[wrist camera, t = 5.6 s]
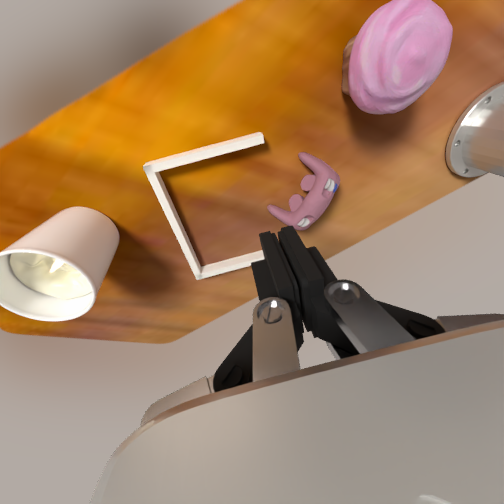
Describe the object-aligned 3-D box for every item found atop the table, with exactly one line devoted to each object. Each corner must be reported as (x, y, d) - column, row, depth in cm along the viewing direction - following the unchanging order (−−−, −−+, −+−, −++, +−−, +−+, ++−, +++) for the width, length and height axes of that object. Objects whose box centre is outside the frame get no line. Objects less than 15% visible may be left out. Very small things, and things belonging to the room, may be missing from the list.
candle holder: (44, 191, 31) (-32, 240, 21) (128, 211, 34) (95, 261, 24) (50, 253, 35) (-10, 316, 26) (123, 265, 38) (94, 325, 29)
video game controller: (281, 213, 39) (309, 239, 35) (262, 208, 36) (291, 237, 32) (316, 157, 35) (353, 180, 31) (299, 146, 32) (337, 170, 28)
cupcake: (323, 25, 26) (377, -5, 17) (401, 5, 26) (491, -34, 18) (325, 117, 31) (367, 128, 23) (390, 101, 31) (455, 105, 23)
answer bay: (259, 131, 30) (262, 134, 29) (280, 249, 41) (283, 256, 40) (146, 162, 30) (142, 166, 29) (197, 272, 41) (196, 280, 40)
